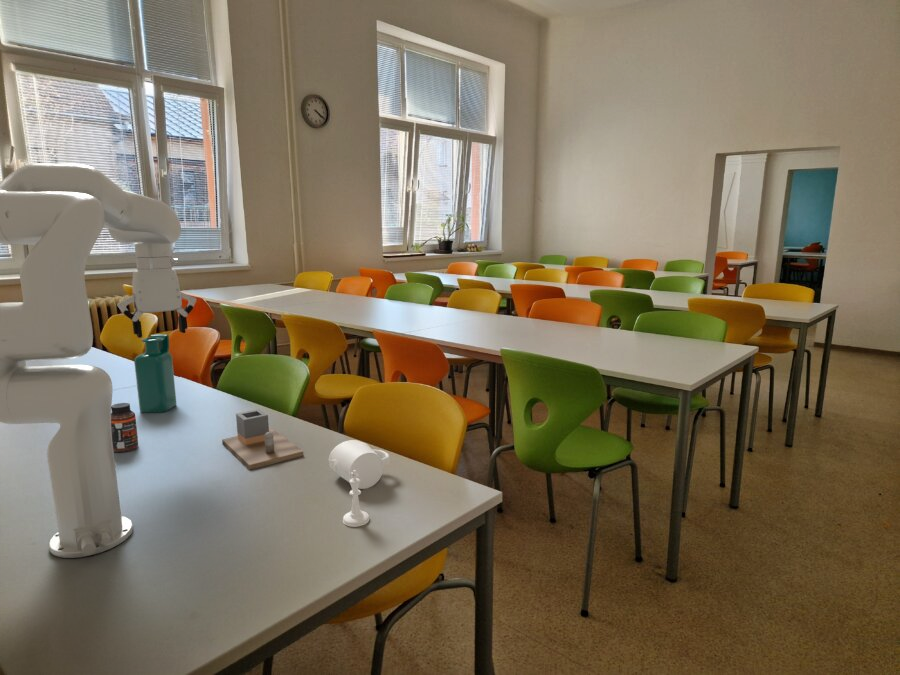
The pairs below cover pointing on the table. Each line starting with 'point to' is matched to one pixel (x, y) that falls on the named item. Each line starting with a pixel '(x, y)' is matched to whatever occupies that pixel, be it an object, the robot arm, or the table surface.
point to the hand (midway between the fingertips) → (161, 334)
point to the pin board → (263, 450)
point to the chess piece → (355, 506)
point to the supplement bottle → (123, 428)
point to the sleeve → (252, 426)
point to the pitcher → (155, 375)
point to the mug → (358, 462)
